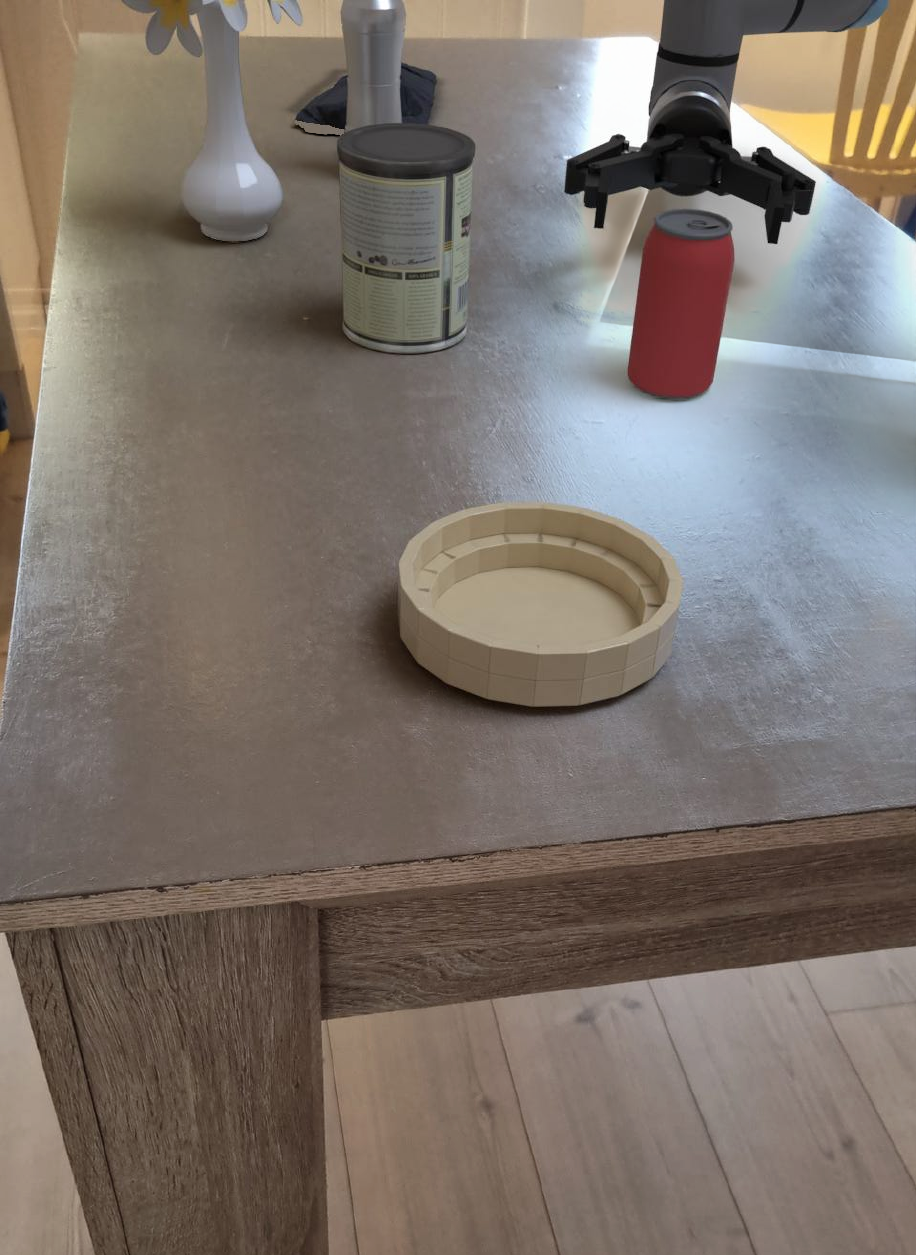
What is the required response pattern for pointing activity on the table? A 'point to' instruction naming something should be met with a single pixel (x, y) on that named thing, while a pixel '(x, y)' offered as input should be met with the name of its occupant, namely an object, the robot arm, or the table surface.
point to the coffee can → (405, 235)
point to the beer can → (681, 303)
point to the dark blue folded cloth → (413, 98)
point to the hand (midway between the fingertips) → (687, 218)
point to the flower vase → (220, 117)
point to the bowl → (538, 603)
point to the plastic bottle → (373, 60)
